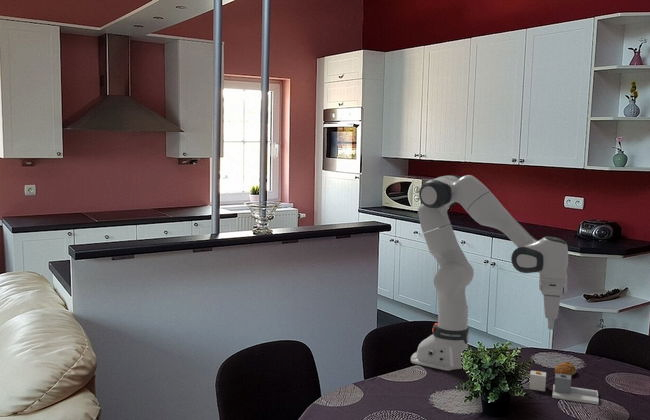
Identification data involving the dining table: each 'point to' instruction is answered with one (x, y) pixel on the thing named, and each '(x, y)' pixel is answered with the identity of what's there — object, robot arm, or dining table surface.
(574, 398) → the rail base
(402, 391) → the dining table surface
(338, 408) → the dining table surface
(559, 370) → the pastry
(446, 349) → the robot arm
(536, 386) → the module
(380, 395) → the dining table surface
